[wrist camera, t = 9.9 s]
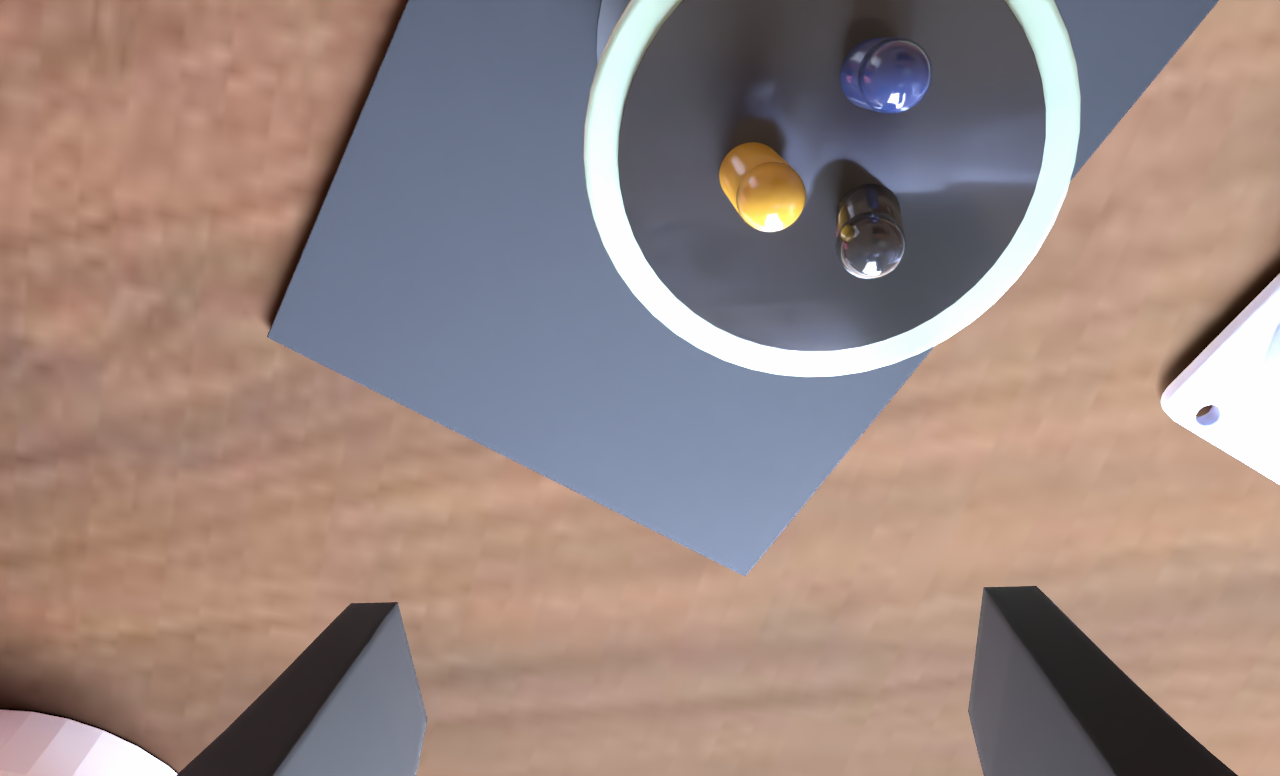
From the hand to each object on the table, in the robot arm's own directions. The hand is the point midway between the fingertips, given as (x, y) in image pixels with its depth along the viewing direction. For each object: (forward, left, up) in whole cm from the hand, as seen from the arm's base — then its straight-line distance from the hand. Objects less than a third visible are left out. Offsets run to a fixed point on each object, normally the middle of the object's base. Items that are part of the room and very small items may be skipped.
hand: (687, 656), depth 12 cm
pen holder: (+2, -6, -10) cm, 12 cm away
